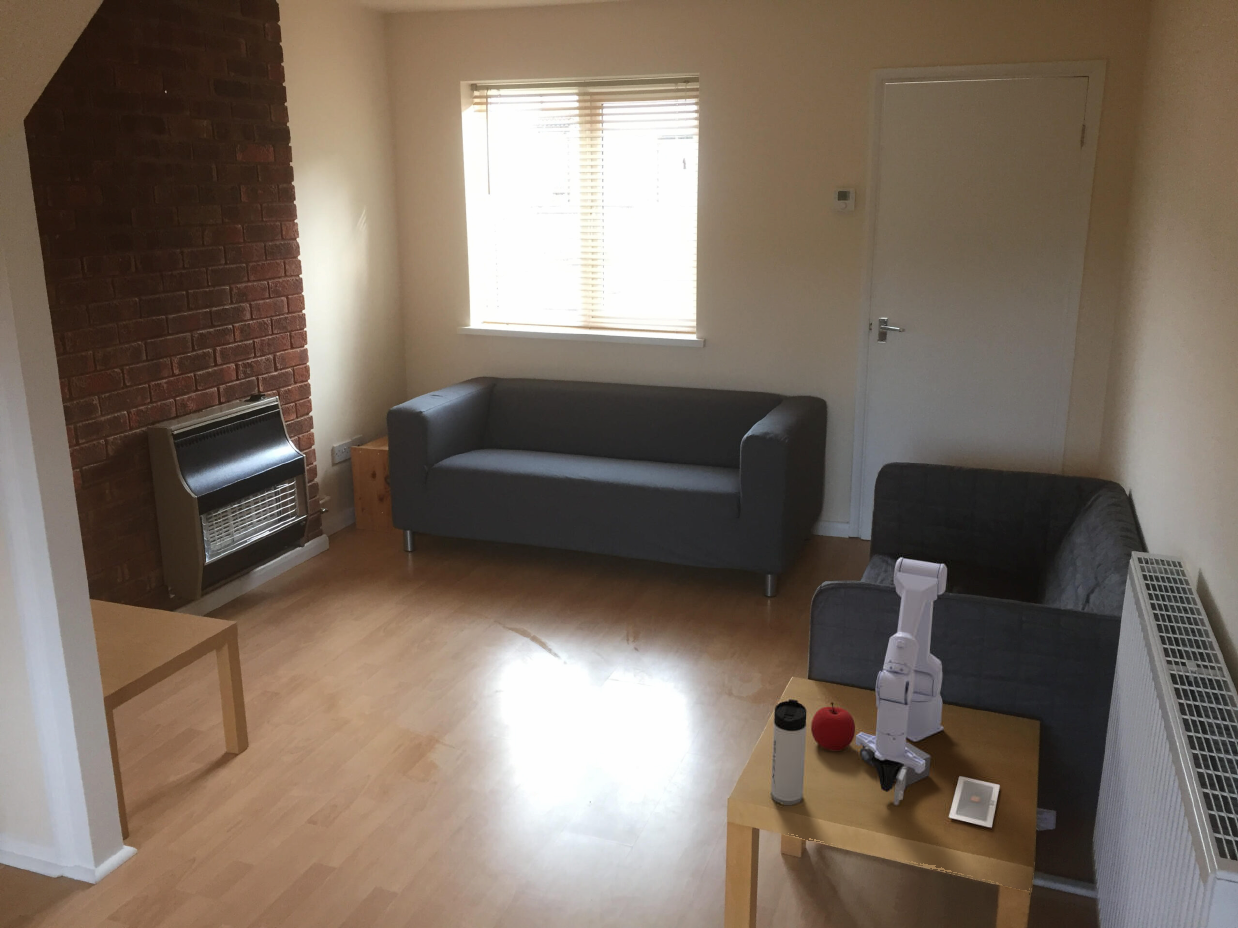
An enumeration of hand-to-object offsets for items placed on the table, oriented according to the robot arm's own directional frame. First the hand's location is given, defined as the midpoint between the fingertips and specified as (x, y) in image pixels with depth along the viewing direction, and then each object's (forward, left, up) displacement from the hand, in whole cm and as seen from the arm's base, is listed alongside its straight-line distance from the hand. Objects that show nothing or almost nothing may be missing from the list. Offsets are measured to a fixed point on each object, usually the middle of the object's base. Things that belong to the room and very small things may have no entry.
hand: (886, 788), depth 209 cm
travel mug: (+16, -11, -2) cm, 20 cm away
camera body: (-9, -6, -2) cm, 12 cm away
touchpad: (-13, +11, -3) cm, 17 cm away
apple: (-5, -20, -2) cm, 20 cm away
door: (-3, +2, -2) cm, 4 cm away
